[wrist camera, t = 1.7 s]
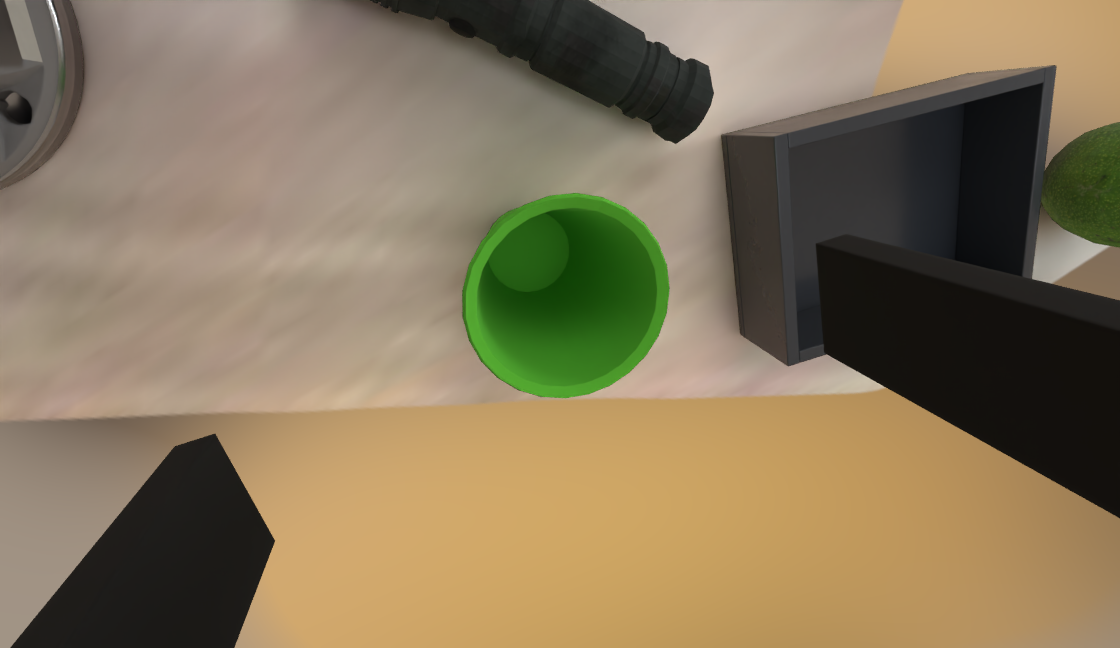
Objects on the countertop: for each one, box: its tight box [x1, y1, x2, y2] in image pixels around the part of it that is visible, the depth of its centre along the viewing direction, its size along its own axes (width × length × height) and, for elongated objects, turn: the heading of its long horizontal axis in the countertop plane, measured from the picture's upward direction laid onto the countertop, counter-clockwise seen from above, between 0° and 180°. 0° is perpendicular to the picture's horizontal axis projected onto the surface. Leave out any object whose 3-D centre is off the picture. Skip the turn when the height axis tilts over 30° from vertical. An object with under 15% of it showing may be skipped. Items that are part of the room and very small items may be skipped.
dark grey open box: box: [722, 65, 1056, 366], centre depth 35 cm, size 18×14×6 cm
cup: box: [462, 193, 670, 398], centre depth 29 cm, size 9×9×11 cm
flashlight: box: [370, 0, 714, 144], centre depth 27 cm, size 5×21×5 cm, turn 66°
